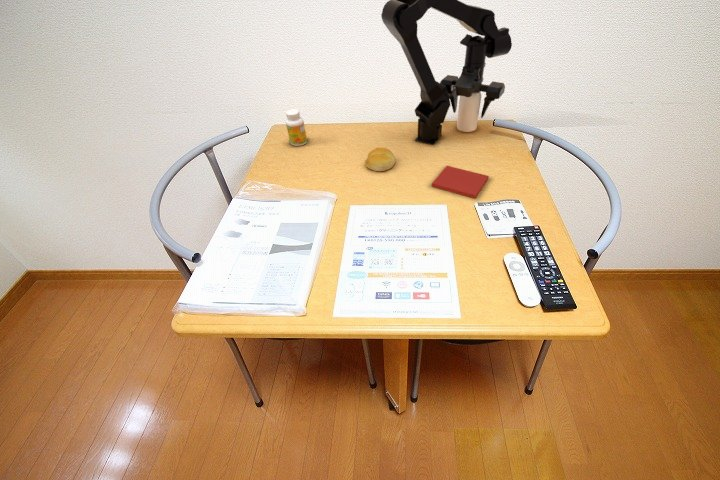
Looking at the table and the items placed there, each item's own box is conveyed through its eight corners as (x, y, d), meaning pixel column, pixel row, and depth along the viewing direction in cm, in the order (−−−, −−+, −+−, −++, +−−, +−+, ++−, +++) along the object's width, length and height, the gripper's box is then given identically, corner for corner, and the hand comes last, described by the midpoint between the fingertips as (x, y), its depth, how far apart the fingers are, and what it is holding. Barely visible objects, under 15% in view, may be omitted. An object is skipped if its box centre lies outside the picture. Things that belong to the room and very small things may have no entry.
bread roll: (363, 171, 102) (362, 158, 99) (369, 155, 108) (369, 143, 105) (392, 173, 101) (392, 160, 98) (397, 157, 107) (397, 144, 104)
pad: (431, 186, 96) (431, 183, 95) (446, 168, 102) (446, 165, 101) (475, 198, 91) (475, 195, 90) (488, 179, 97) (488, 175, 96)
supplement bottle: (287, 145, 115) (279, 114, 108) (296, 137, 118) (289, 107, 111) (301, 147, 113) (295, 116, 106) (310, 139, 117) (304, 109, 110)
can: (476, 133, 116) (482, 94, 107) (455, 132, 117) (460, 93, 108) (476, 124, 120) (482, 86, 112) (456, 123, 121) (461, 85, 113)
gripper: (433, 65, 103) (430, 119, 114) (498, 74, 96) (488, 131, 107) (448, 54, 109) (444, 106, 121) (510, 61, 103) (499, 116, 114)
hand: (468, 114), depth 115 cm, fingers open, 9 cm apart
